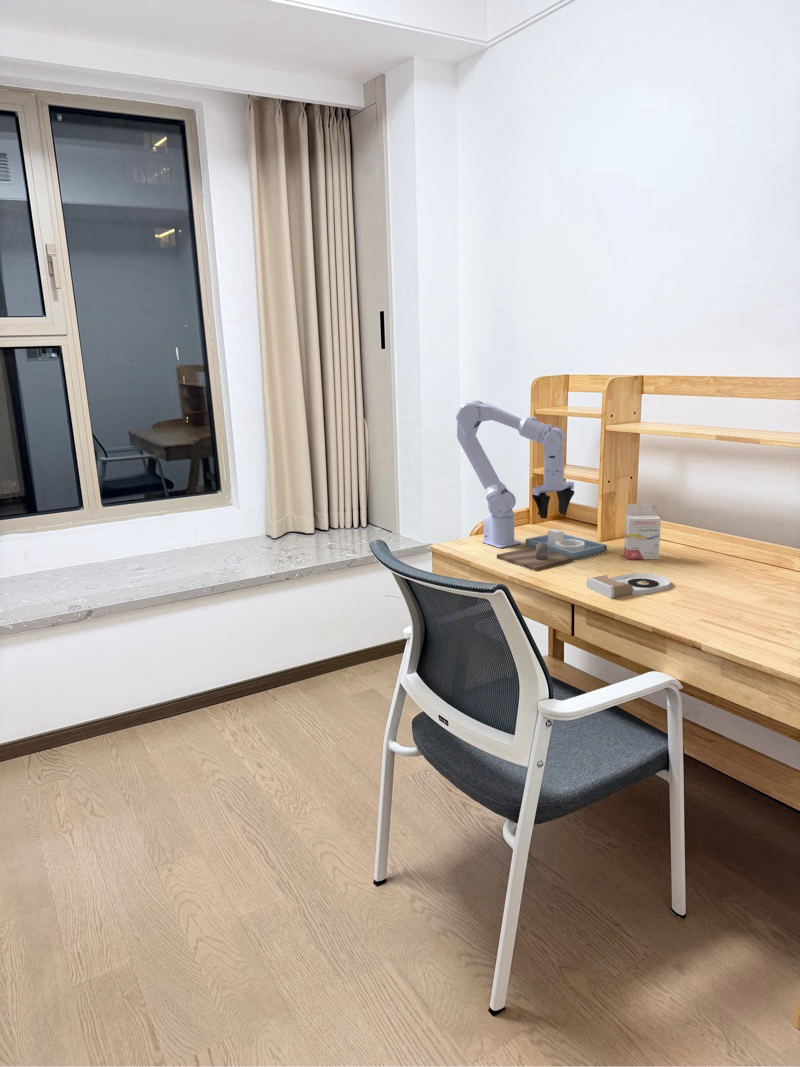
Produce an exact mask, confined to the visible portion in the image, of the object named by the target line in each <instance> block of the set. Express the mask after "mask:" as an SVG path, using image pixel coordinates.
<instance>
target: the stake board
mask: <svg viewBox="0 0 800 1067" xmlns="http://www.w3.org/2000/svg"><path fill="white" fill-rule="evenodd" d="M496 559H499V560H502V561H504V562H507V563H510V564H512V565H516V564H517V565H516V566H518V565H520V566H519V567H521V566H523V567H522V568H524V567H526V568H525V569H527V568H529V569H528V570H530V569H532V570H531V571H533V570H536V571H539V570H538V569H540V570H543V569H542V568H545V569H548V567H549V568H551V567H552V566H553V567H556V565H557V566H559V565H564V564H568V562H569V563H572V561H573V562H574V560H573V558H572V557H568V556H565V555H562V554H558V553H555V552H552V551H548V550H547V544H545V543H538V544H536V547H535V546H533V547H529V546H528V547H525V548H520V549H515V550H511V551H507V552H503V553H498V554H496Z"/></svg>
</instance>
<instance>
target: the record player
mask: <svg viewBox="0 0 800 1067" xmlns="http://www.w3.org/2000/svg"><path fill="white" fill-rule="evenodd" d="M670 587H671V579H669V578H668V577H667V576H663V575H660V574H654V573H647V572H645V573H644V572H633V573H627V574H622V575H616V576H612V577H608V574H604V575H599V576H593V577H587V579H586V589H587V588H589V589H591V590H590V591H592V590H594V591H595V592H594V591H593V592H594V593H596V592H598V593H597V594H599V593H600V594H599V595H601V594H602V595H601V596H603V595H604V596H603V597H605V596H606V597H605V598H608V599H610V600H611V598H612V599H616V598H621V597H625V596H630V595H633V596H634V595H637V596H638V595H647V594H652V593H656V592H661V591H665V590H668V589H670ZM589 589H588V590H589Z"/></svg>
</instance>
